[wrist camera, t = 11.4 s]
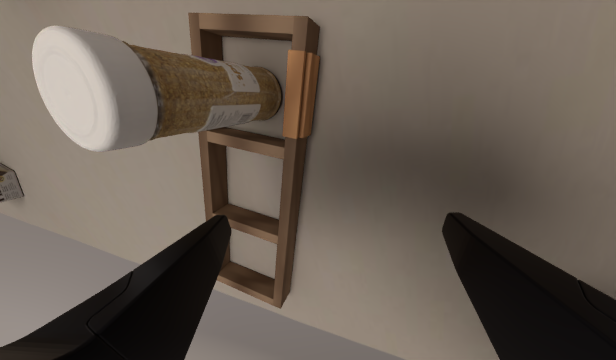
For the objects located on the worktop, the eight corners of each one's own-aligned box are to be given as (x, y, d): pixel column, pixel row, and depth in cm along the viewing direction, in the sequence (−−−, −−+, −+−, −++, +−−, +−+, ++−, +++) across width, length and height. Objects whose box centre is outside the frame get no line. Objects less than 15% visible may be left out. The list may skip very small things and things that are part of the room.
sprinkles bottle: (279, 63, 18) (72, 7, 7) (285, 119, 20) (126, 154, 8) (235, 70, 20) (6, 35, 8) (244, 122, 22) (60, 154, 10)
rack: (324, 27, 16) (312, 15, 14) (292, 293, 27) (282, 312, 25) (211, 22, 19) (185, 11, 17) (224, 264, 30) (209, 279, 28)
